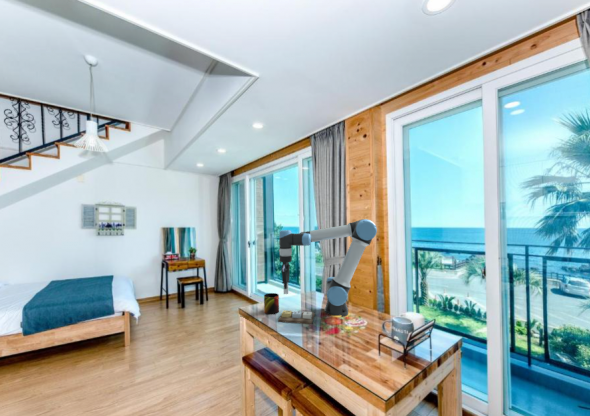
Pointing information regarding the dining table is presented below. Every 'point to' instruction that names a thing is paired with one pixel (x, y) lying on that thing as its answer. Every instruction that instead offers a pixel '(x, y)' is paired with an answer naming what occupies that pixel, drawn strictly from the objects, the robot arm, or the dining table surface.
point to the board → (296, 319)
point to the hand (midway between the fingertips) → (286, 293)
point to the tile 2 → (307, 315)
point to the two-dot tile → (297, 314)
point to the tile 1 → (286, 313)
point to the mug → (271, 303)
